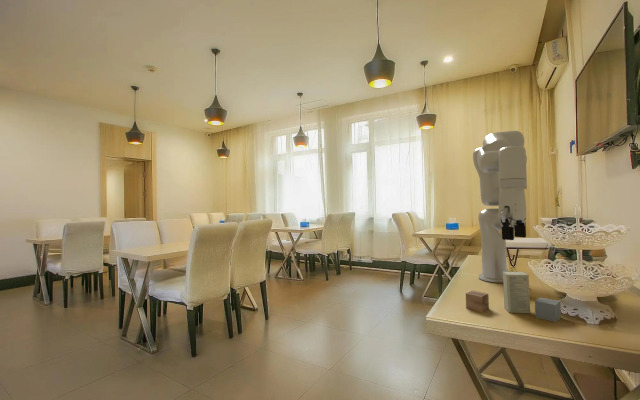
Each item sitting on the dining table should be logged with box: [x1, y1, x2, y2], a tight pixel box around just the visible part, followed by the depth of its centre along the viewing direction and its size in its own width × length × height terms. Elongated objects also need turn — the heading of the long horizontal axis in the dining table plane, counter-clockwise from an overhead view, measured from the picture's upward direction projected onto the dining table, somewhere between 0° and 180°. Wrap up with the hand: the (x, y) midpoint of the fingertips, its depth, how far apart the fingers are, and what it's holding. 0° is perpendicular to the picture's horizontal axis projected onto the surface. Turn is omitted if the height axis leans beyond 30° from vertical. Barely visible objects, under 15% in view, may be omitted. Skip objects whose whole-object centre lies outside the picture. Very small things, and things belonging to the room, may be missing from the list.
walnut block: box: [465, 290, 490, 313], centre depth 98 cm, size 5×5×5 cm
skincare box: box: [502, 271, 531, 314], centre depth 96 cm, size 6×4×12 cm
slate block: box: [534, 296, 562, 323], centre depth 90 cm, size 5×5×5 cm
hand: (514, 238), depth 96 cm, fingers open, 9 cm apart
